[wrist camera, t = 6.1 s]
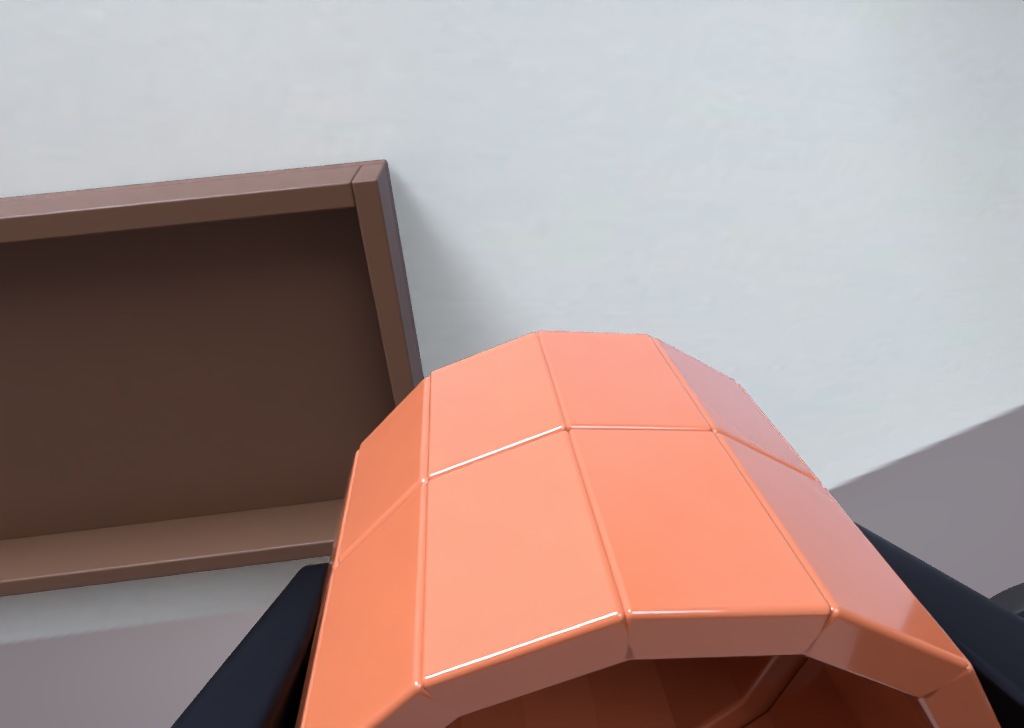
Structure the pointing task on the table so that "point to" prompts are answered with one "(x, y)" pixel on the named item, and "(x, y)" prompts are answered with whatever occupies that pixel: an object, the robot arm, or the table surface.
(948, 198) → the table surface
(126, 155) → the table surface
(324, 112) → the table surface
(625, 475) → the terracotta flower pot
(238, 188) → the tray
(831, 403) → the table surface
